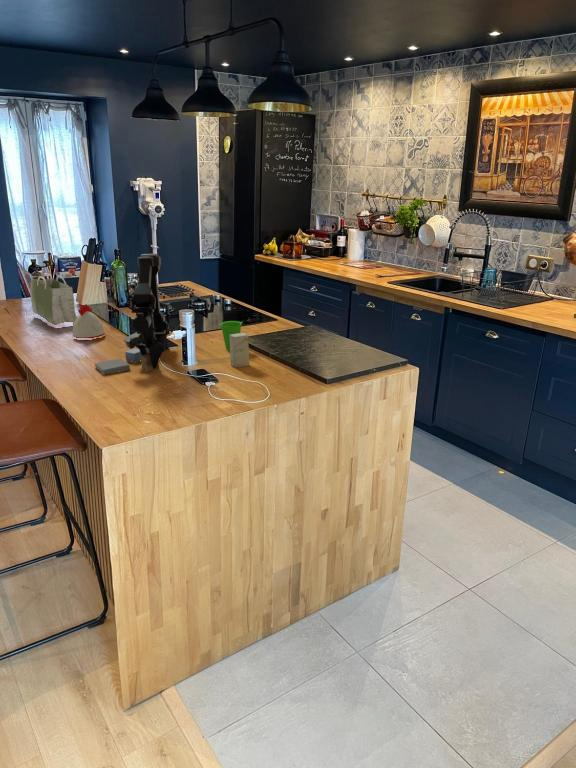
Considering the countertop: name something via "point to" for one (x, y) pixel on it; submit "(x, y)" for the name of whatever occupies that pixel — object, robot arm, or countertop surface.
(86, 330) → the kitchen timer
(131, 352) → the slate block
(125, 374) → the countertop surface
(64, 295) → the grocery bag
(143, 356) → the walnut cube
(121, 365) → the slate pad
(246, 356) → the skincare box
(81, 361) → the countertop surface
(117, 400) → the countertop surface
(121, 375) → the countertop surface
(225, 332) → the cup
